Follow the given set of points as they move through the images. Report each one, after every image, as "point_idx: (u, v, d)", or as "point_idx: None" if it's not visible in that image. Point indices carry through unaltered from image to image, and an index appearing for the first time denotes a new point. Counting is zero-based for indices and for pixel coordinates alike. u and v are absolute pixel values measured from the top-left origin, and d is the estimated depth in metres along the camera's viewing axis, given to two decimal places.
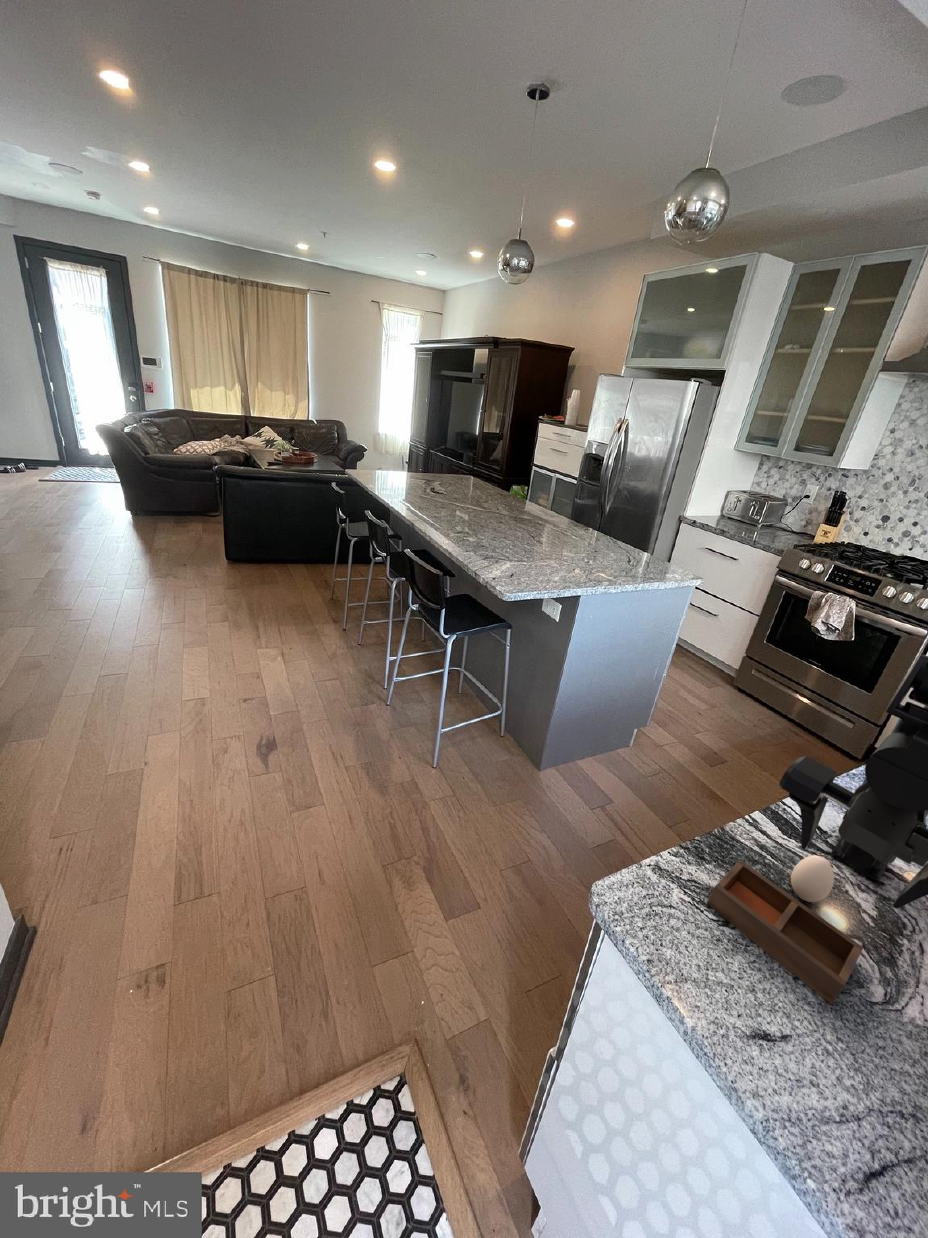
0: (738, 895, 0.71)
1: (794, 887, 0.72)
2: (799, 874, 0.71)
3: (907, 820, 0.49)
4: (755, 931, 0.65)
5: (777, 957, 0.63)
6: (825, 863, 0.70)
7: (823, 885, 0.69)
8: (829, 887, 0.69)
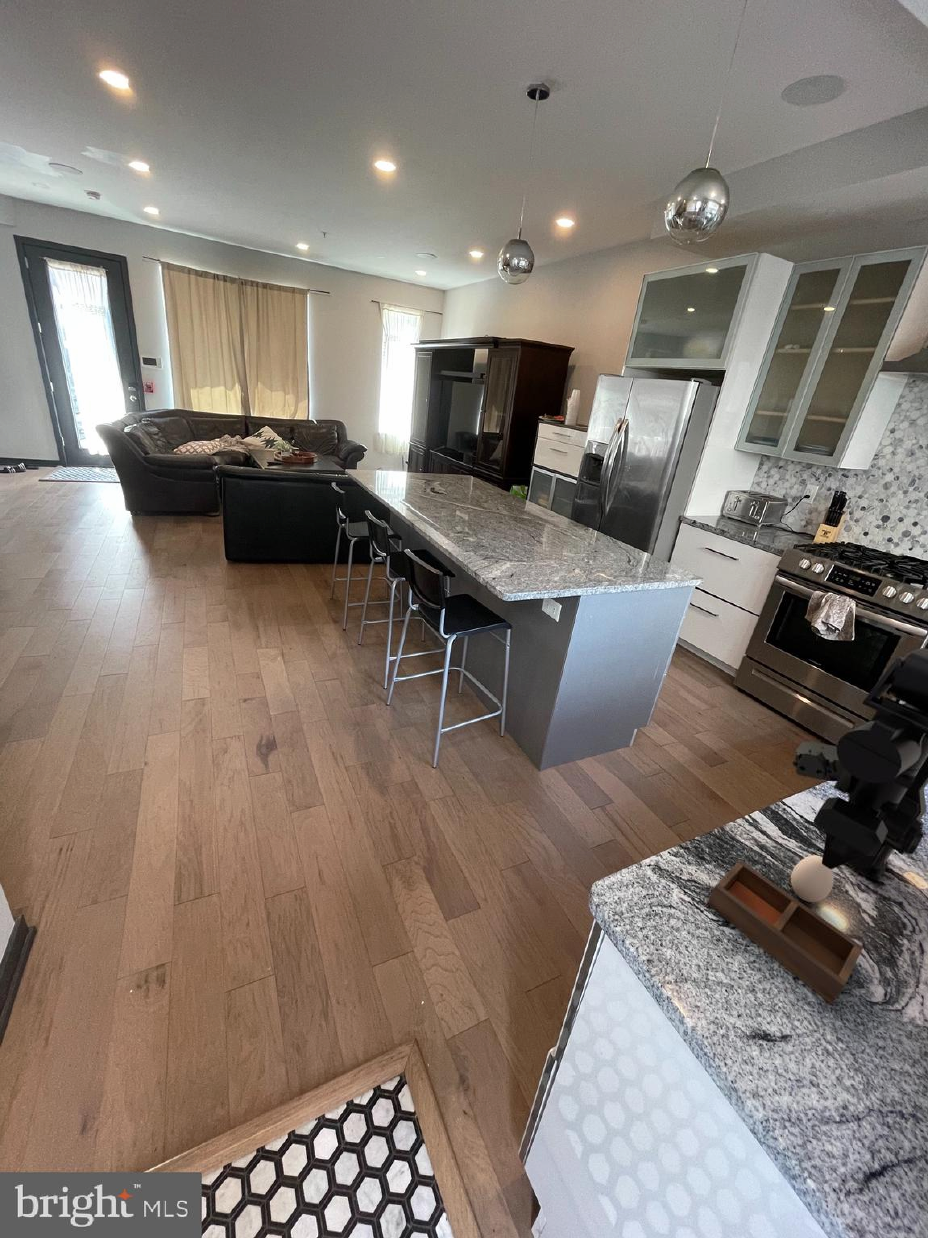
0: (738, 895, 0.71)
1: (794, 887, 0.72)
2: (799, 874, 0.71)
3: (828, 757, 0.64)
4: (755, 931, 0.65)
5: (777, 957, 0.63)
6: None
7: (823, 885, 0.69)
8: (829, 887, 0.69)
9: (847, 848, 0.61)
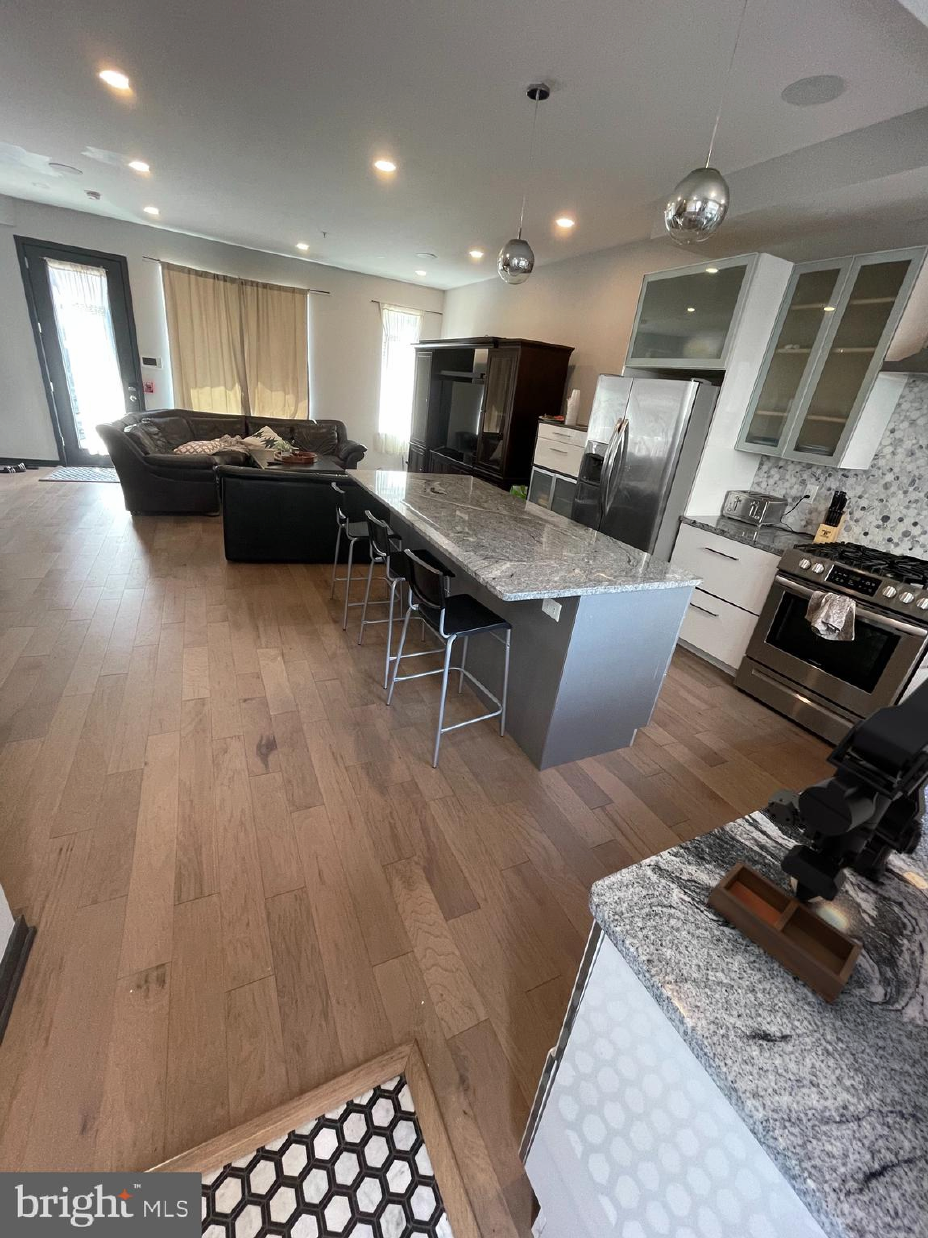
0: (738, 895, 0.71)
1: (794, 887, 0.72)
2: None
3: (798, 806, 0.70)
4: (755, 931, 0.65)
5: (777, 957, 0.63)
6: None
7: None
8: None
9: None
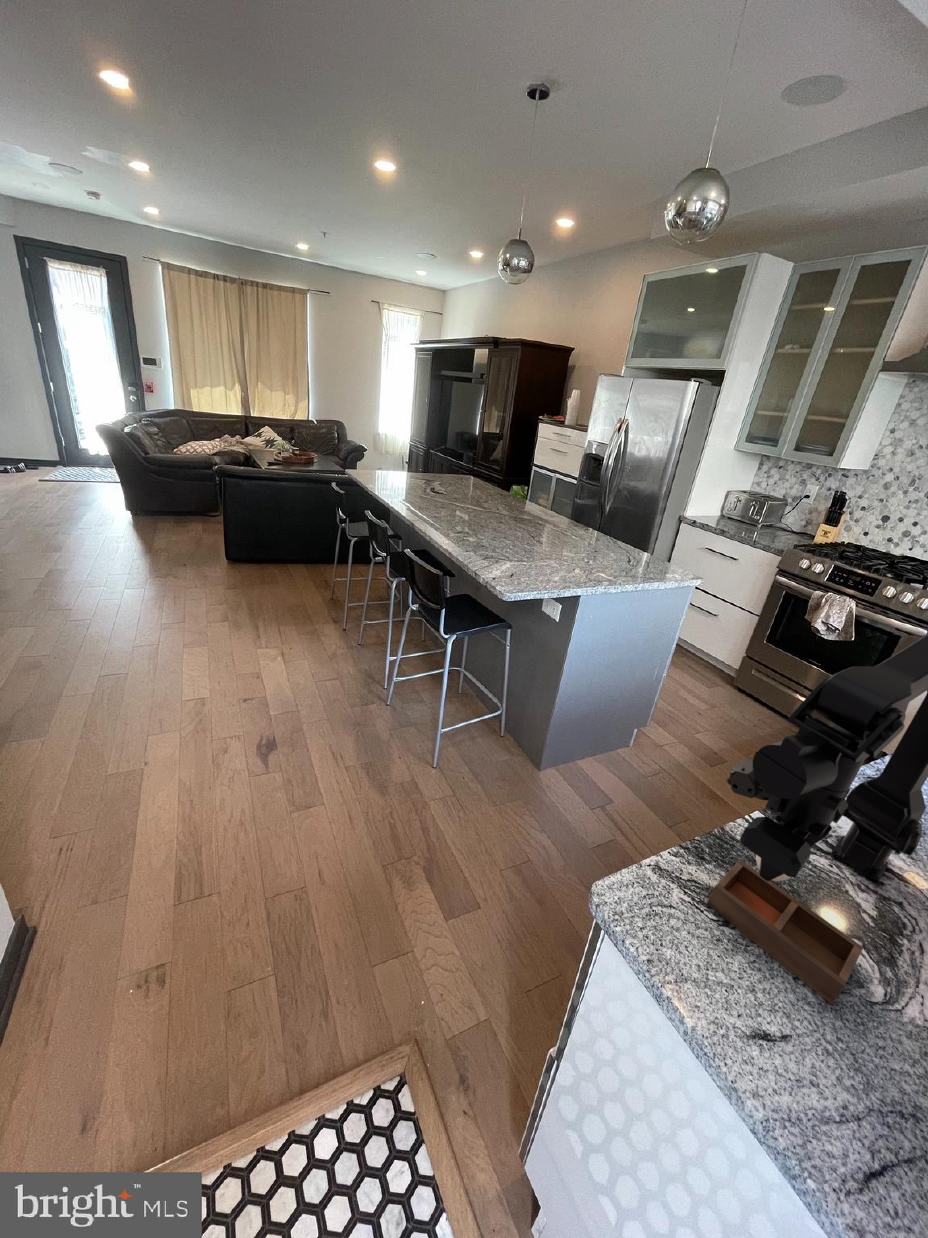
0: (738, 895, 0.71)
1: (759, 865, 0.66)
2: None
3: None
4: (755, 931, 0.65)
5: (777, 957, 0.63)
6: None
7: None
8: None
9: None
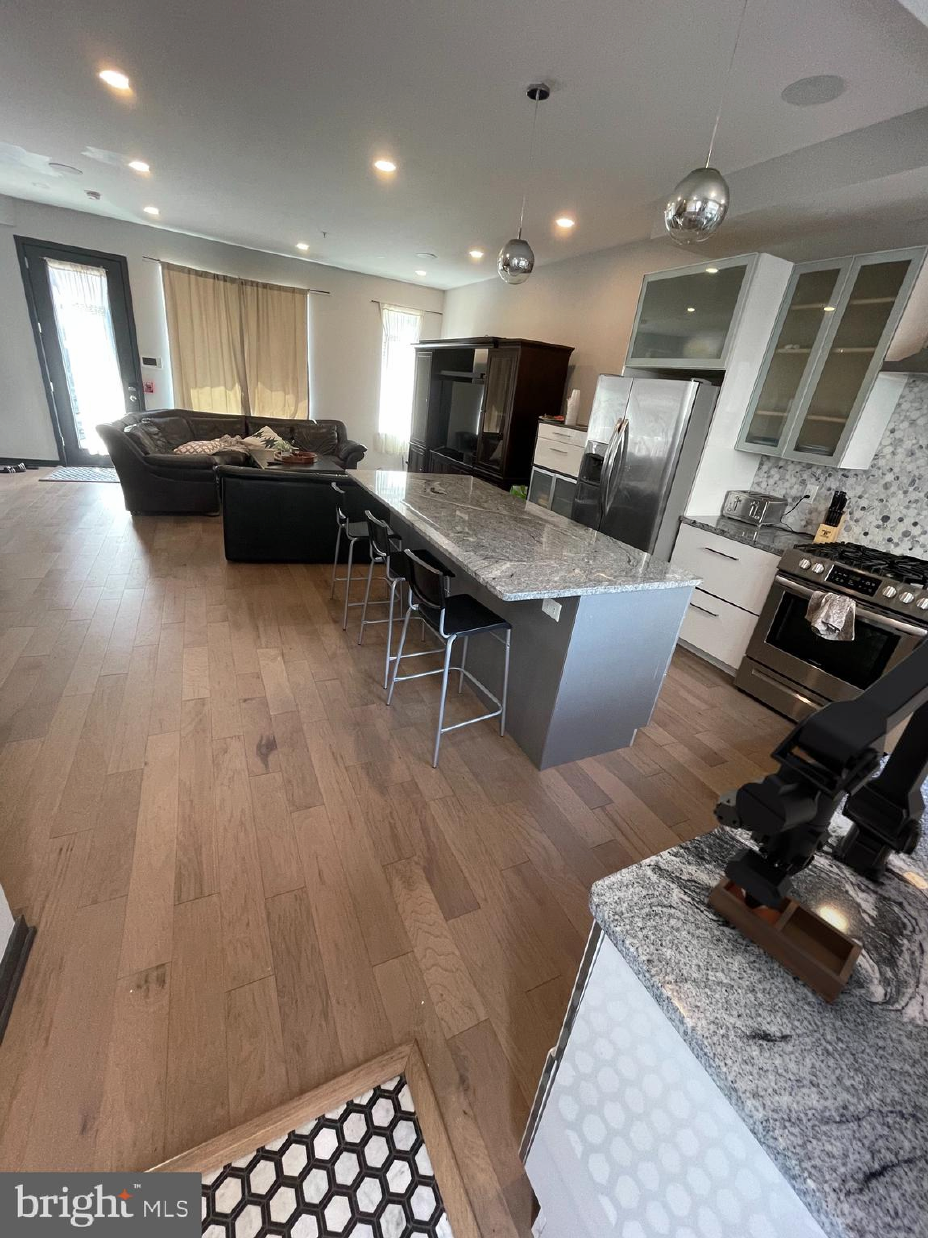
0: (738, 895, 0.71)
1: (744, 893, 0.68)
2: None
3: None
4: (755, 931, 0.65)
5: (777, 957, 0.63)
6: None
7: None
8: None
9: None
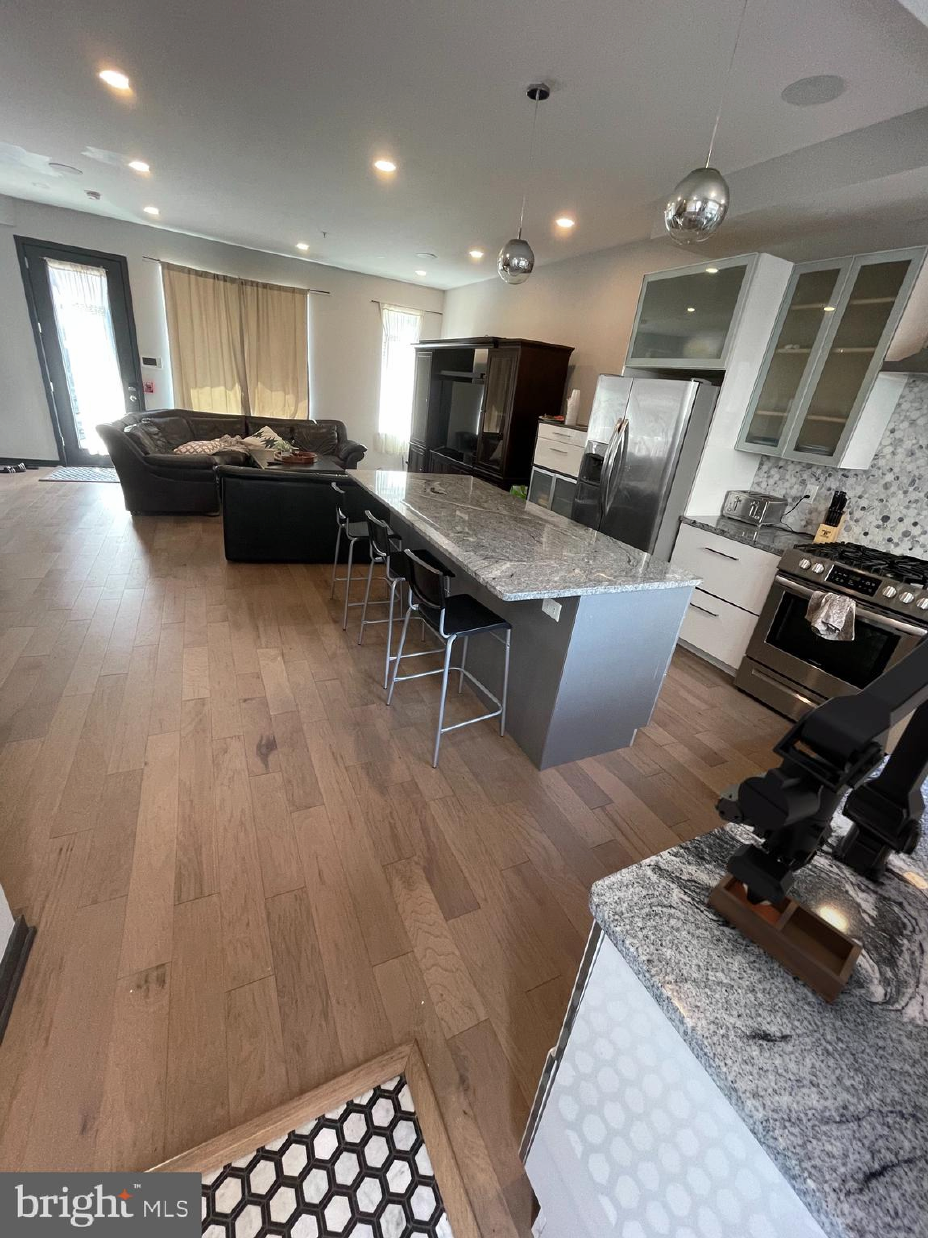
0: (738, 895, 0.71)
1: (746, 889, 0.67)
2: None
3: None
4: (755, 931, 0.65)
5: (777, 957, 0.63)
6: None
7: None
8: None
9: None
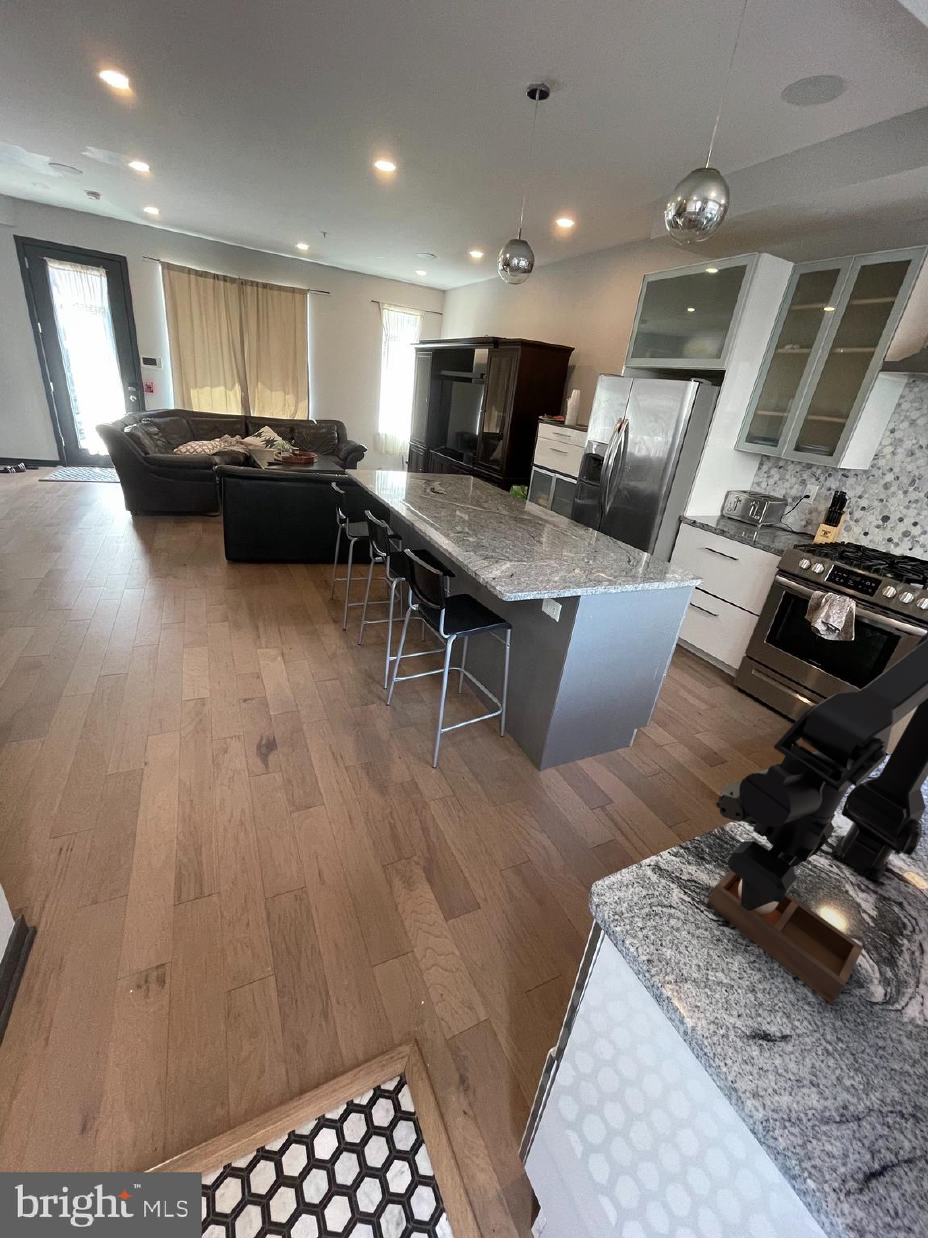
0: (738, 895, 0.71)
1: (740, 899, 0.68)
2: None
3: None
4: (755, 931, 0.65)
5: (777, 957, 0.63)
6: None
7: None
8: None
9: (761, 892, 0.62)
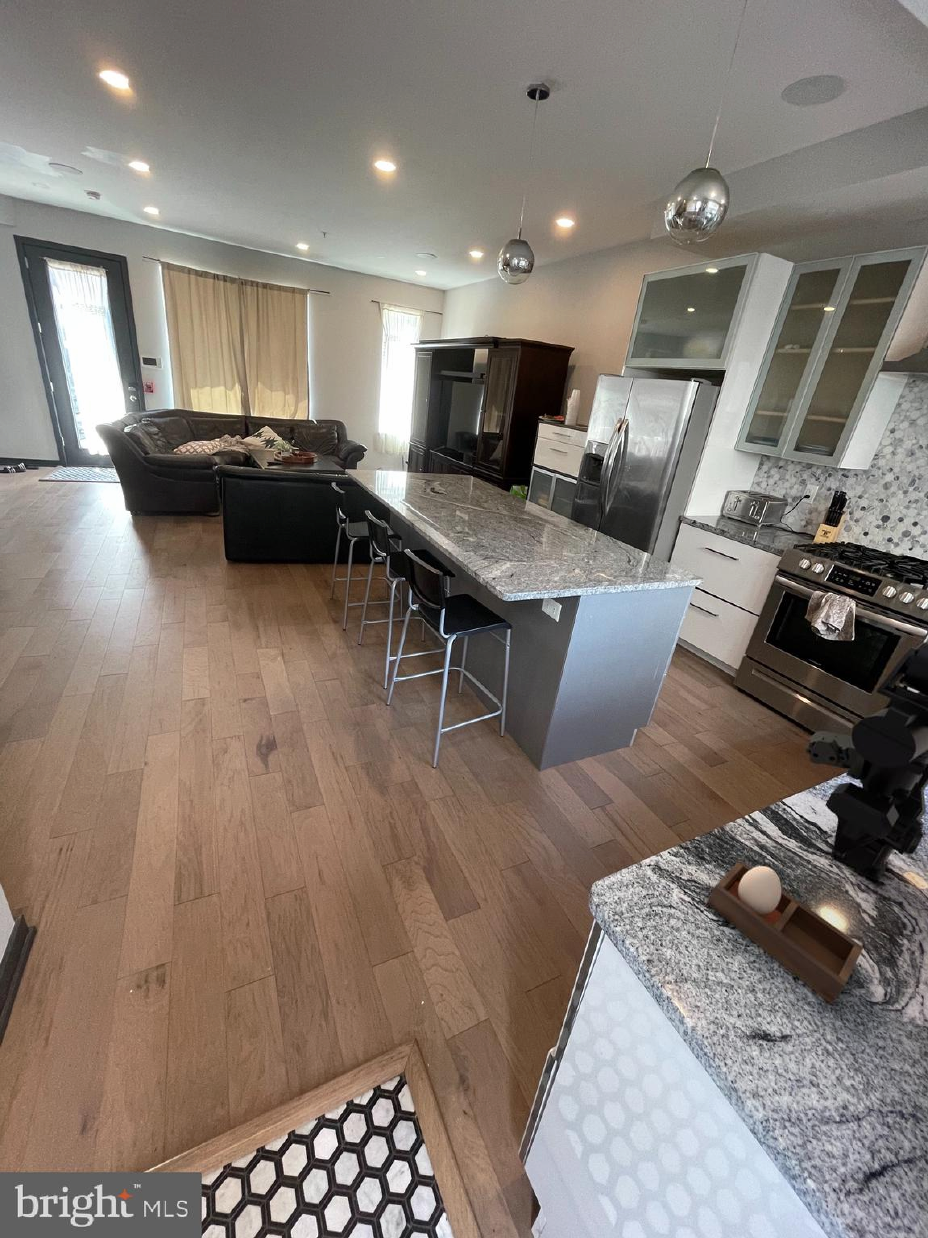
0: (738, 895, 0.71)
1: (740, 899, 0.68)
2: (745, 885, 0.67)
3: (842, 744, 0.66)
4: (755, 931, 0.65)
5: (777, 957, 0.63)
6: (771, 874, 0.66)
7: (769, 897, 0.65)
8: (775, 900, 0.65)
9: (858, 833, 0.63)
